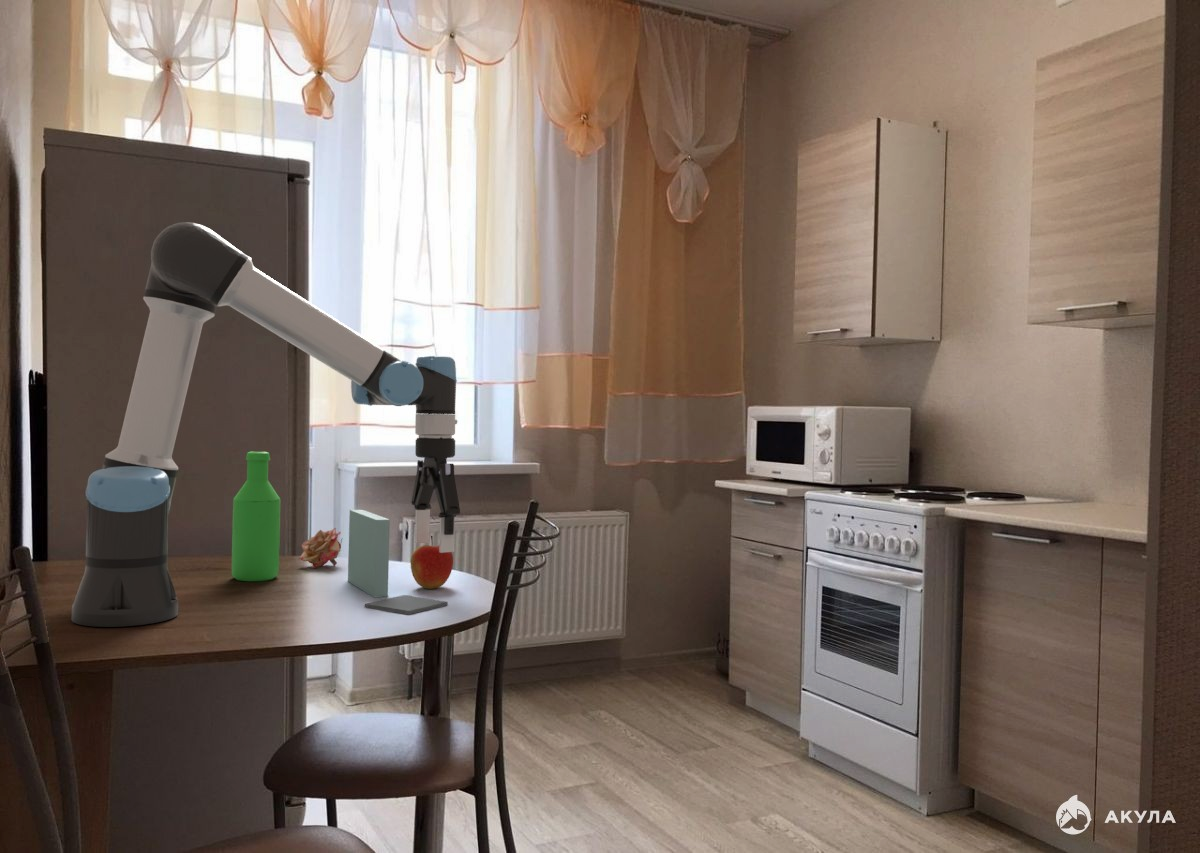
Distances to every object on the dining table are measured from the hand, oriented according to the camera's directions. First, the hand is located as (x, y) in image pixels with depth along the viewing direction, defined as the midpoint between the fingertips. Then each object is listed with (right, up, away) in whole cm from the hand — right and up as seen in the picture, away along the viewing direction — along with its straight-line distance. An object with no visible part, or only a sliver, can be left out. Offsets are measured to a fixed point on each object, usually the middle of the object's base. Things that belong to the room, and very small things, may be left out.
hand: (434, 547), depth 186 cm
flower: (-28, -7, +21) cm, 35 cm away
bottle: (-36, -7, +5) cm, 37 cm away
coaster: (-2, -8, -18) cm, 20 cm away
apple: (-1, -8, 0) cm, 8 cm away
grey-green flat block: (-12, -7, -2) cm, 15 cm away
